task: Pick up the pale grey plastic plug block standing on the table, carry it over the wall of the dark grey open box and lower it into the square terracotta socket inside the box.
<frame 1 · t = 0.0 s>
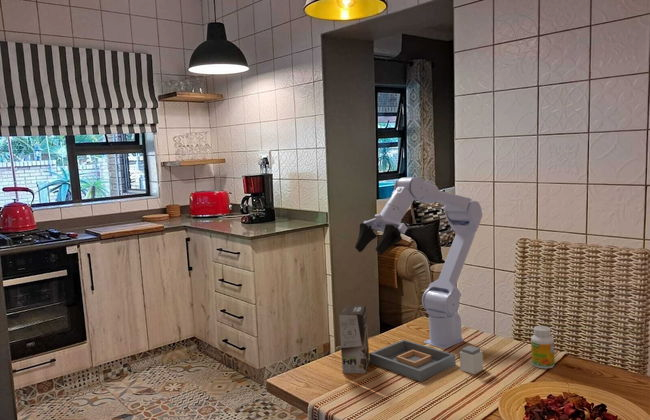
hand: (367, 251, 131), 32 cm above the table, tool tilted 50°, fingers open, 7 cm apart
supplement bottle: (543, 365, 131), on the table
plug block: (471, 371, 130), on the table
walled box: (411, 364, 137), on the table
inlet socket: (414, 360, 139), resting on walled box
coffee box: (356, 368, 138), on the table
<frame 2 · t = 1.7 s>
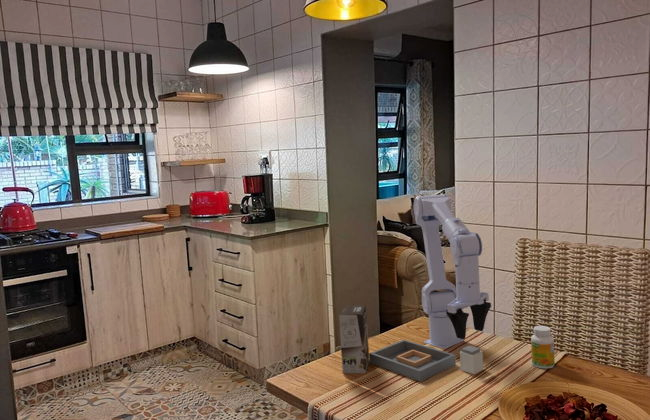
hand: (470, 334, 129), 10 cm above the table, tool pointing down, fingers open, 7 cm apart
nothing on the table moved.
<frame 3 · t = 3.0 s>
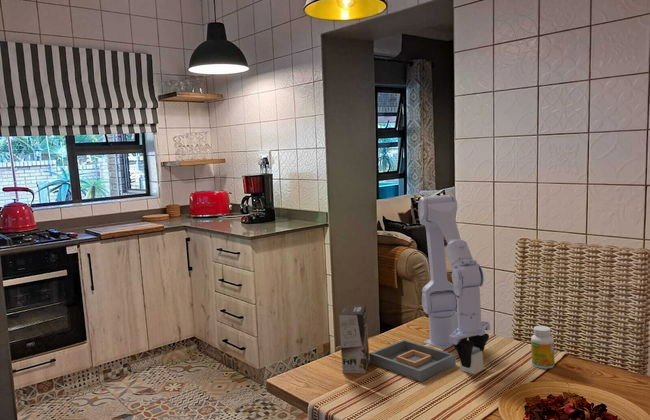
hand: (471, 363, 130), 2 cm above the table, tool pointing down, fingers closed on plug block, 4 cm apart
plug block: (471, 371, 130), on the table, touching gripper
everything else where it was.
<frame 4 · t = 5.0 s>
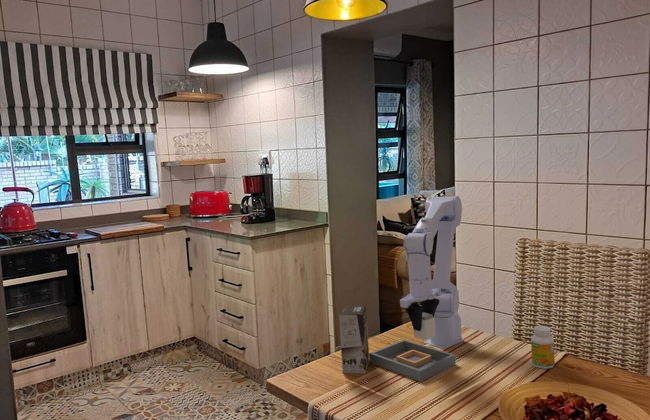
hand: (422, 327, 136), 10 cm above the table, tool pointing down, fingers closed on plug block, 4 cm apart
plug block: (424, 336, 136), point 8 cm above the table, touching gripper
everything else where it was.
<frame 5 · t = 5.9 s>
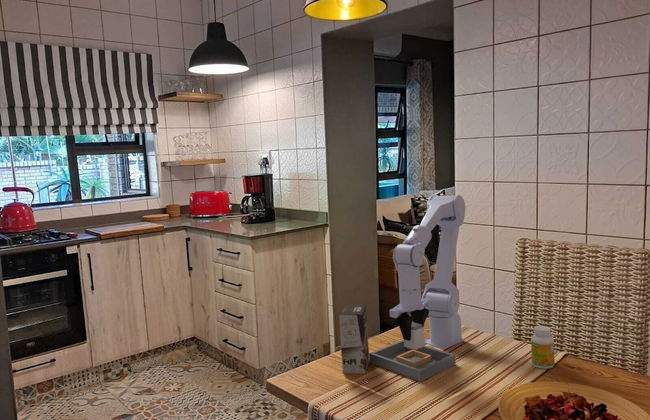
hand: (412, 337, 138), 7 cm above the table, tool pointing down, fingers closed on plug block, 4 cm apart
plug block: (414, 346, 138), point 5 cm above the table, touching gripper
everything else where it was.
when the fingers open (4 cm above the table, at t = 6.8 s): plug block drops 1 cm, resting on walled box.
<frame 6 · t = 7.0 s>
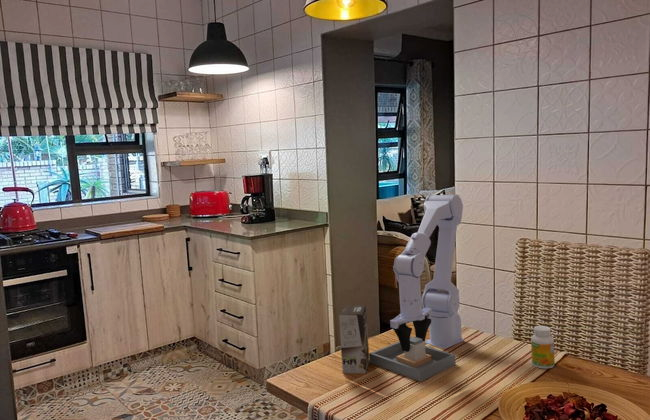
hand: (413, 347, 138), 4 cm above the table, tool pointing down, fingers open, 5 cm apart
plug block: (415, 360, 138), resting on walled box
everything else where it was.
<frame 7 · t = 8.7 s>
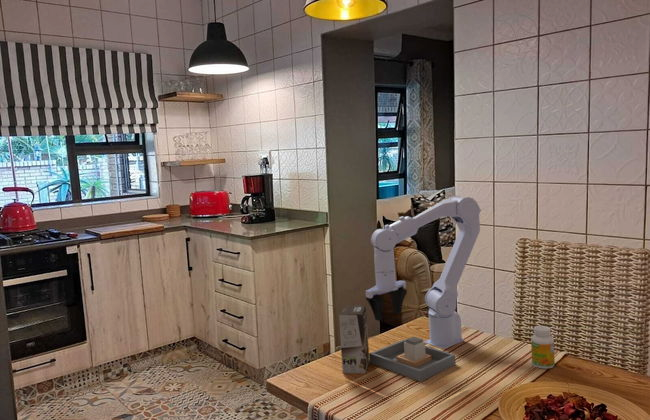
hand: (387, 316, 148), 10 cm above the table, tool pointing down, fingers open, 7 cm apart
nothing on the table moved.
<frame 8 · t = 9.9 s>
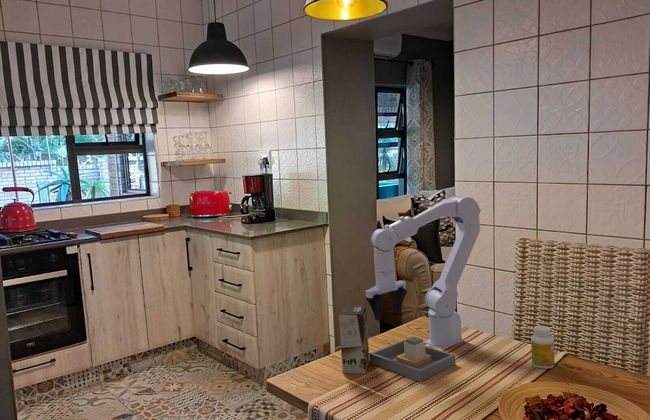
hand: (387, 316, 148), 10 cm above the table, tool pointing down, fingers open, 7 cm apart
nothing on the table moved.
at the end: plug block 0.5 cm from the inlet socket (horizontally); plug block resting on walled box; the gripper is holding nothing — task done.
